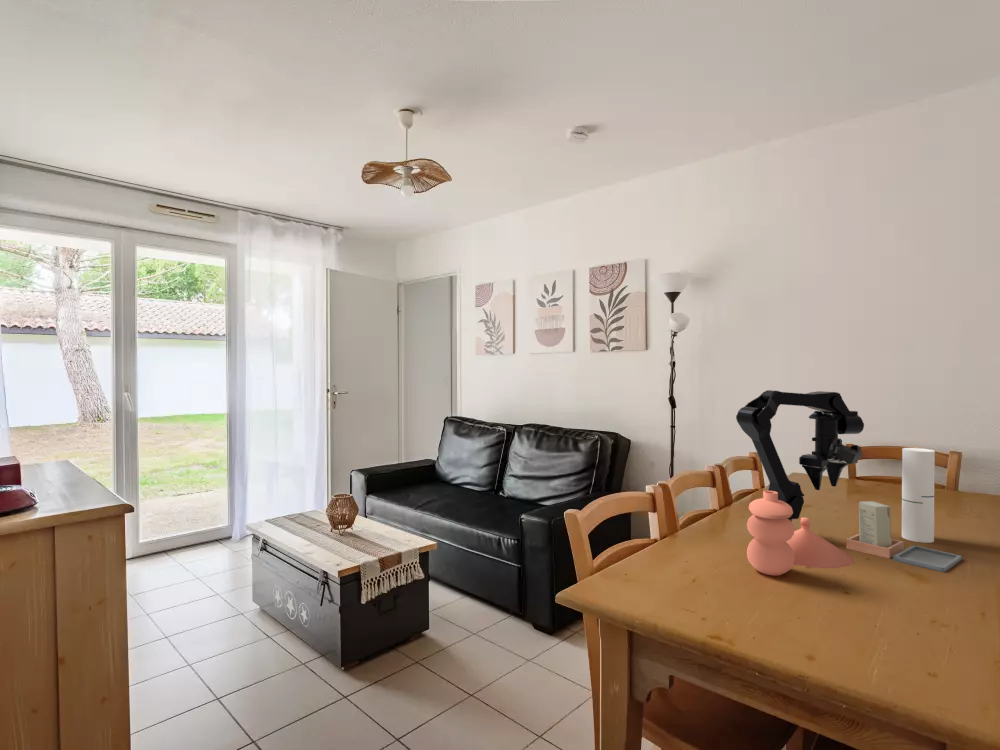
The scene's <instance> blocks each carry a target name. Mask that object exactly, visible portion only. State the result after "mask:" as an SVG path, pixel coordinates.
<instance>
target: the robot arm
mask: <svg viewBox="0 0 1000 750" xmlns="http://www.w3.org/2000/svg"><path fill="white" fill-rule="evenodd" d="M780 405H784V406H785V405H786V406H796V407H807V408H808V409H811V410H815V411H813V413H811V414H810V415H809V416H808V418H809V419H812V420H815V421H814V425H815V427H814V437H811V442H814V450H812V451H811V453H806V454H802V455H801V456H800V457H799V459H798V460H799V461H798V463H799V465H801V468H803V469H804V470H805V471H804V472H805V473H806V474H807V475H808V478H809V479H810V481H811V483H812V485H813V487H814V490H817V491H820V490H821V488H822V487H821V486H822V479H823V473H824V472H825V471H826V472H827V476H828V480H829V483H830V485H831V486H832V487H837V484H838V482H839V479H840V476H841V474H842V472H843V469H844V468H846V467H847V466H850V465H853V464H857V463H858V462H859V459H860V458H863V452H862V447H861V446H859V445H858V444H853V445H850V446H849V445H844V444H843V439H841V438H839V435H856V434H857V435H859V434H860V433H862V432H863V430H864V427H865V423H864V421H863V419H862V417H861V416H860V415H858V414H859V411H856V410H849V409H850V408H849V407H848V406H847V404H846V403H845V401H844V399H843V397H842V396H841V393H840V392H836V391H824V390H823V391H821V390H820V391H810V392H807V393H799V392H786V391H779V390H773V389H772V390H771V389H769V390H765V391H763V392H762V393H761V394H759V396H758V397H756V398H754V399H752V400H751V401H749V402H748V403H746V404H745V406H743V407H741V408H739V410H738V412H737V414H736V417H735V419H736V422H737V423H738V425H739V427H740V429H741V430H742V431H743V432H744V433H745V434H746V435H747V436H748V437H749V438H750V439H751V441H752V443H753V445H754V448H755V451H756V453H757V455H758V458H759V460H760V462H761V464H762V467H763V469H764V472H765V474H766V476H767V479H768V482H769V485H768V490H767V491H775V492H778V500H781V501H783V502H785V503H787V504H788V505H789V506H791V507H792V510H793V514H792V515H791V517H790V518H787V519H789V520H790V521H791V522H792V523H793V520H799V518H800V515H801V512H802V509H803V506H804V503H805V498H804V497H805V494H804V493H803V491H802V489H801V485H800V483H799V482H795V481H792V480H790V479H789V478H788V475H787V472H786V470H785V468H784V466H783V463H782V460H781V458H780V456H779V453H778V451H777V449H776V446H775V444H774V441H773V438H772V437H771V431H772V421H771V420H772V419H773V418H774V417H775V416H776V414H777V411H778V408H779V407H780Z"/></svg>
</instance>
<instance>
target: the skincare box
mask: <svg viewBox="0 0 1000 750" xmlns="http://www.w3.org/2000/svg"><path fill="white" fill-rule="evenodd" d="M858 526H859V527H858V529H859V530H858V532H859V533H858V534H859V541H860V542H864V543H868V544H872V545H877V546H881V547H885V548H888V547H890V546H892V507H891V505H887V504H883V503H880V502H877V501H870V500H868V501H858Z"/></svg>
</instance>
